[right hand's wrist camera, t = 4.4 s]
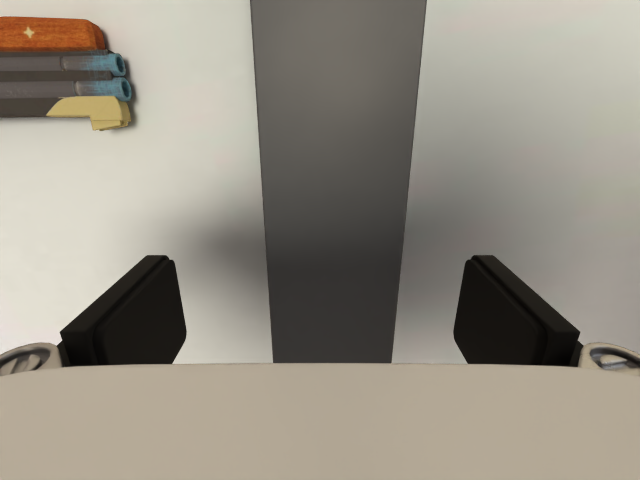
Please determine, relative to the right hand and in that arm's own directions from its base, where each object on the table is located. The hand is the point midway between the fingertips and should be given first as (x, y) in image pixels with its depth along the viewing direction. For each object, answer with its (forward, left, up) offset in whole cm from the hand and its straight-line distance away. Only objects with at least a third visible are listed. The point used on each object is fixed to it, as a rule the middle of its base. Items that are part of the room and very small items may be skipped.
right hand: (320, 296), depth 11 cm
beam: (+25, -11, -8) cm, 28 cm away
